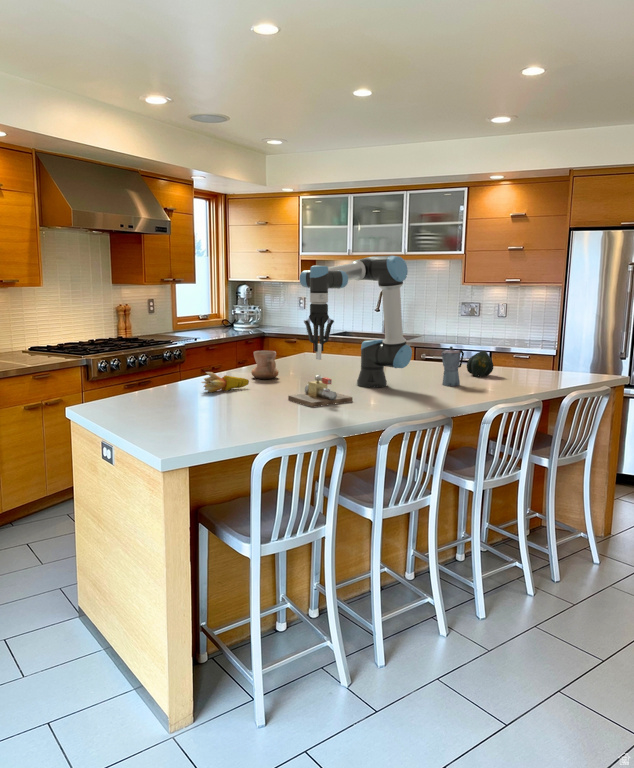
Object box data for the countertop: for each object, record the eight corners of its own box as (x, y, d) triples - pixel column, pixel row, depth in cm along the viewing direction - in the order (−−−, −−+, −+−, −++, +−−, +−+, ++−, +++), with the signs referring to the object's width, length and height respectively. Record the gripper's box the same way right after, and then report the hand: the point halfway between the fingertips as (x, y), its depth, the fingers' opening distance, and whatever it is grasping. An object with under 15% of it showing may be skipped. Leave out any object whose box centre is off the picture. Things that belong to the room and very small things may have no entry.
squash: (461, 367, 346) (480, 347, 341) (462, 364, 360) (481, 346, 355) (479, 384, 344) (499, 365, 339) (480, 381, 358) (499, 363, 354)
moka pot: (434, 384, 319) (435, 346, 315) (454, 382, 328) (456, 344, 324) (448, 387, 311) (450, 348, 308) (468, 384, 320) (470, 346, 317)
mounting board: (327, 394, 288) (327, 390, 287) (352, 401, 273) (352, 397, 273) (288, 399, 275) (288, 395, 274) (312, 407, 260) (312, 402, 260)
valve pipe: (313, 393, 283) (313, 377, 282) (338, 400, 268) (339, 384, 267) (302, 394, 280) (302, 378, 278) (327, 401, 264) (328, 385, 263)
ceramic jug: (245, 376, 335) (245, 350, 332) (269, 374, 343) (269, 349, 340) (261, 382, 320) (261, 355, 317) (285, 380, 328) (285, 353, 325)
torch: (247, 395, 302) (202, 394, 286) (241, 386, 307) (196, 384, 291) (253, 382, 298) (208, 380, 282) (246, 372, 303) (201, 370, 287)
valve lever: (313, 380, 275) (314, 375, 274) (319, 379, 276) (319, 374, 275) (326, 384, 264) (326, 379, 263) (332, 384, 265) (332, 379, 265)
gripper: (306, 304, 253) (306, 361, 257) (336, 303, 257) (336, 359, 261) (301, 303, 260) (301, 358, 264) (330, 302, 264) (330, 357, 268)
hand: (318, 359), depth 263 cm, fingers closed
